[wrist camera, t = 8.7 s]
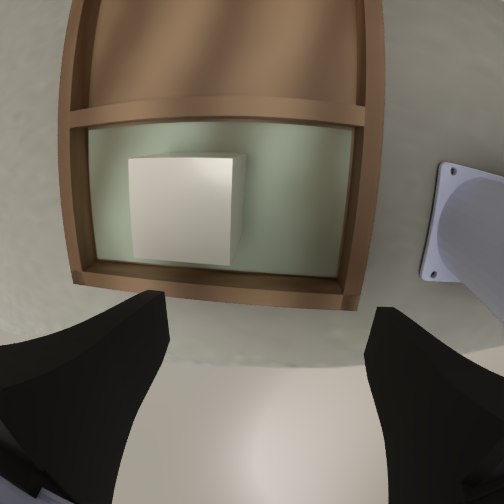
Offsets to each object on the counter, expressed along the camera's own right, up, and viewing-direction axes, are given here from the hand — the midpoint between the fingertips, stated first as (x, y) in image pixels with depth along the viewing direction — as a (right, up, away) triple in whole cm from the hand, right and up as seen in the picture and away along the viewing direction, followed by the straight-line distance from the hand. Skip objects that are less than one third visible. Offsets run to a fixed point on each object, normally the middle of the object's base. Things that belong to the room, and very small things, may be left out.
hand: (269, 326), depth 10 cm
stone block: (-3, +6, +7) cm, 10 cm away
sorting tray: (-3, +11, +6) cm, 13 cm away
